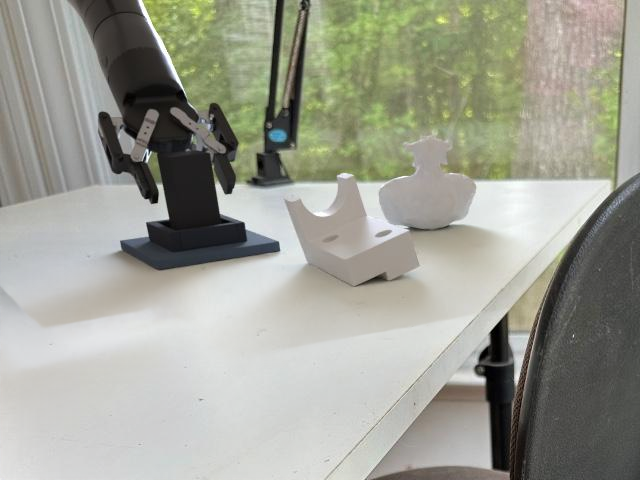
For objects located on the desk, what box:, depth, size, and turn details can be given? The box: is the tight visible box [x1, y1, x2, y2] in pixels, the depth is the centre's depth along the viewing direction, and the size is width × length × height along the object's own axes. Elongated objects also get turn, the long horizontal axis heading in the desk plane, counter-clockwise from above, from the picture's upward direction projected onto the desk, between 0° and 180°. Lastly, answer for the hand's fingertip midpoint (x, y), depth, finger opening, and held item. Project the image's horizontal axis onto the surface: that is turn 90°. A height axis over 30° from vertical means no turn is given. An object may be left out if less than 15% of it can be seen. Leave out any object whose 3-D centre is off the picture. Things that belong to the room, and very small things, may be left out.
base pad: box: [119, 213, 281, 271], centre depth 102 cm, size 14×14×3 cm
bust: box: [378, 133, 478, 231], centre depth 106 cm, size 12×8×11 cm
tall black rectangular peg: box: [156, 150, 222, 231], centre depth 100 cm, size 4×4×9 cm
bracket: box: [283, 172, 421, 287], centre depth 90 cm, size 13×7×8 cm, turn 28°
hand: (193, 194), depth 99 cm, fingers open, 8 cm apart
